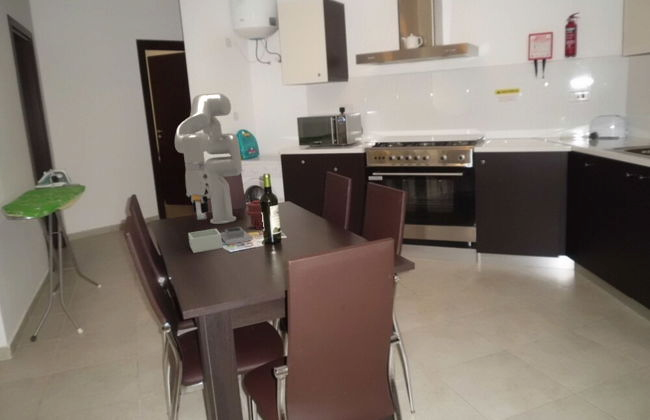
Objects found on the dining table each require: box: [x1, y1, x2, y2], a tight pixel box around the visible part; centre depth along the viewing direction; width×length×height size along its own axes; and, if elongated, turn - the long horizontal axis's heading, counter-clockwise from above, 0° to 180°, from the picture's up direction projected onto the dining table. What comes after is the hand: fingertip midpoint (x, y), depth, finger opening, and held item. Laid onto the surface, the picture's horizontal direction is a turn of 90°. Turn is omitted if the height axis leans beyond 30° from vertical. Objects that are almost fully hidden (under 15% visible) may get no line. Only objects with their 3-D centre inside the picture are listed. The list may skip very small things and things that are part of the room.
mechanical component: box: [246, 199, 264, 230], centre depth 228 cm, size 12×10×10 cm
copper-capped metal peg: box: [193, 194, 208, 221], centre depth 200 cm, size 5×5×10 cm
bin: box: [187, 228, 223, 254], centre depth 203 cm, size 11×11×6 cm
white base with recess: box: [219, 226, 251, 245], centre depth 212 cm, size 14×10×4 cm
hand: (201, 211), depth 200 cm, fingers closed on copper-capped metal peg, 3 cm apart
